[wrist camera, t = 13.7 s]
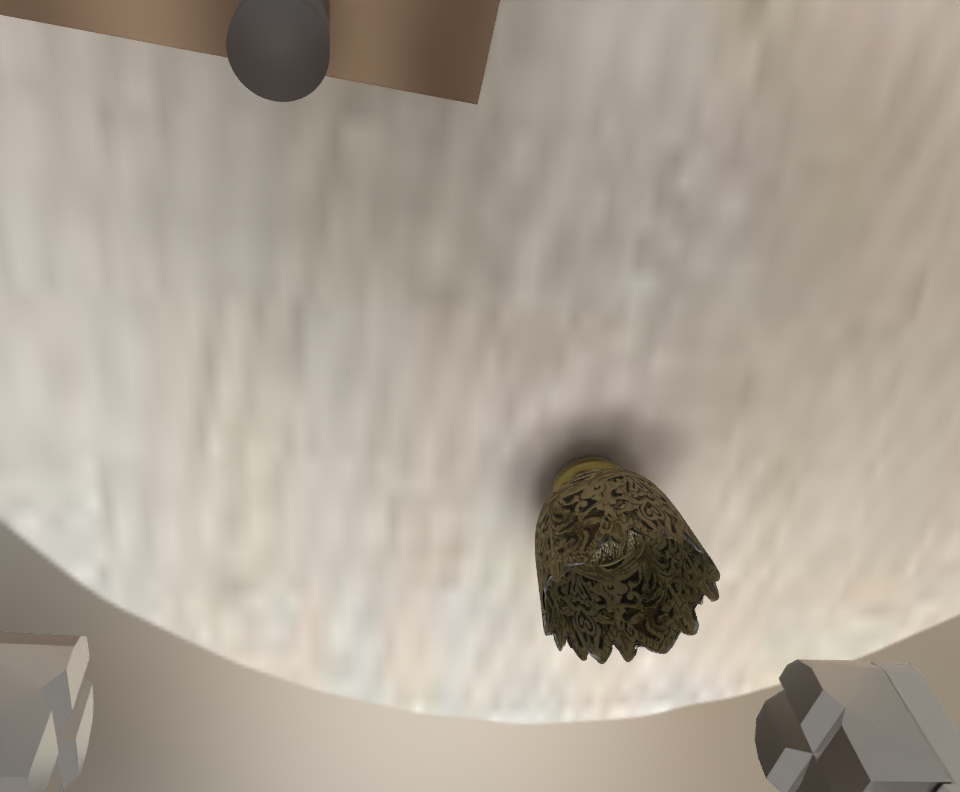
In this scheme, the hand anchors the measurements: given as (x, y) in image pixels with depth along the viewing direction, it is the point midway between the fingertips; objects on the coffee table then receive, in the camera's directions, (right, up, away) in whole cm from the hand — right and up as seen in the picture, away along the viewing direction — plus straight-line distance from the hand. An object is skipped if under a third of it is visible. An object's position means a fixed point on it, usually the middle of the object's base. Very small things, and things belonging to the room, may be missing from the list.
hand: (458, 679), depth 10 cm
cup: (+5, -1, +31) cm, 32 cm away
